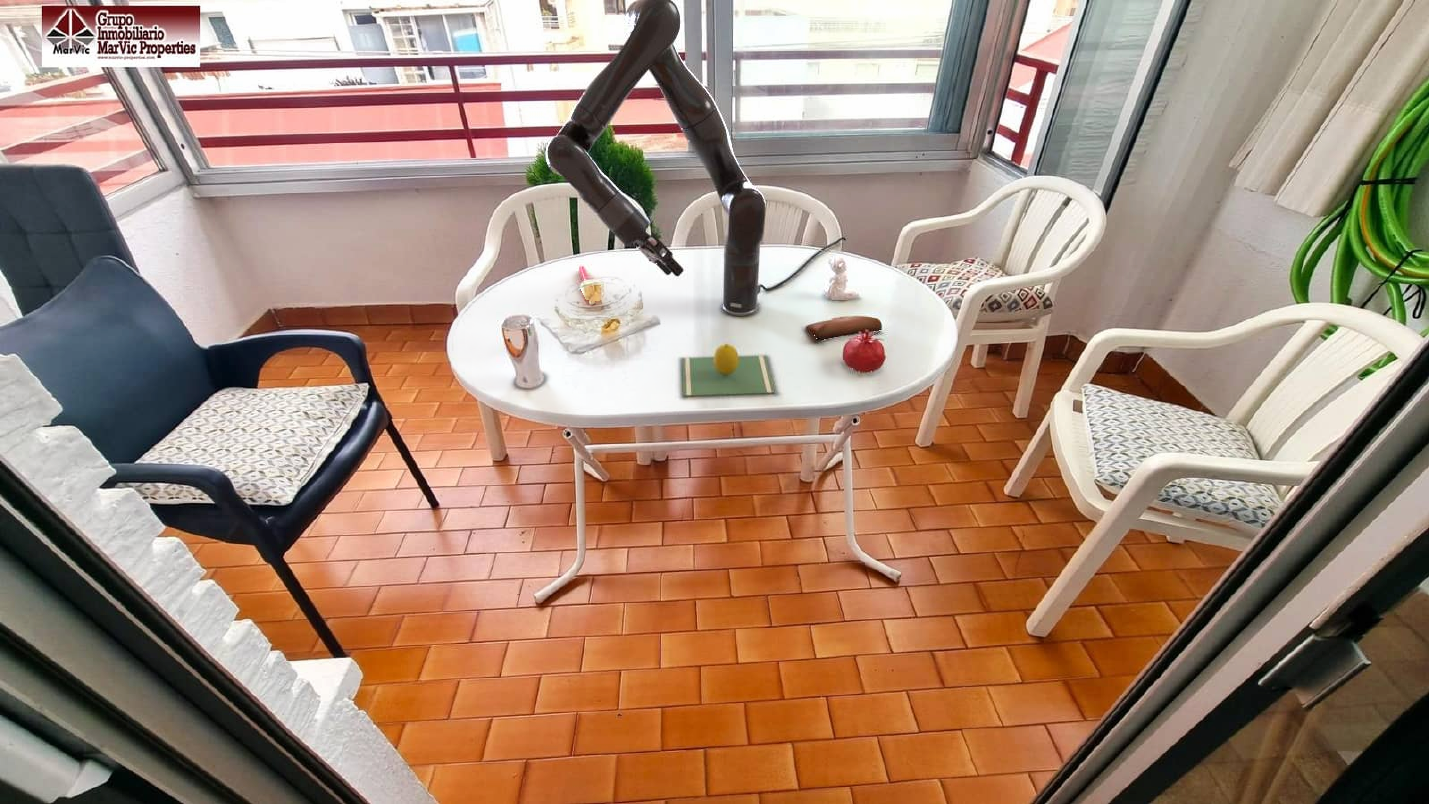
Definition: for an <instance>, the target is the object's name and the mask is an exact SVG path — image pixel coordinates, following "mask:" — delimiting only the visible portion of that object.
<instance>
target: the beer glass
mask: <svg viewBox="0 0 1429 804" xmlns="http://www.w3.org/2000/svg"><path fill="white" fill-rule="evenodd" d="M500 328H501V335H502V340H503V344H504V348H505V350H506V353H507V355H508V358H509V359H510V361H511V363H512V366H513V368H514V372H515V373H514V374H515V383H516V386H518V387H519V388H522V389H532V388H535V387H538V386H540V385H541V384H542V383H543V382H544V380H545V376H544V374H543V372H542V370H541V366H540V356H539V355H540V350H539V349H540V347H539V338H538V333H537V329H536V326H535V324H534V320H533V318H532V316H530V315H527V314H514V315H510V316H507V317H505V318H504V319H503V320H501V322H500Z"/></svg>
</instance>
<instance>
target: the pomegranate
mask: <svg viewBox="0 0 1429 804" xmlns="http://www.w3.org/2000/svg"><path fill="white" fill-rule="evenodd" d="M858 332H859V331H858ZM859 333H860V334H857V335H856V336H854V337H852V338H849V339H848V340H847V342H846V343H844V345H843V348H842V360H843V362H844V361H845V362H844V363H845V365H846V366H847V367H848V369H849V368H850V369H851V370H853V371H855V372H858V373H861V374H867V373H868V374H869V373H874V372H876V371H878V370H879V369H880V368H882V367H883V366H884V363H885V361H886V359H887V356H886V352H885V351H886V350H885V347H884V345H883V343H882V342H883V341H885V340H884V339H881V338H878V337H873V336H876V335H877V333H875V332H871V334H870V332H869V330H865V333H862V332H859ZM881 341H882V342H881ZM852 368H853V369H852ZM875 370H876V371H875ZM859 371H860V372H859ZM871 371H872V372H871Z"/></svg>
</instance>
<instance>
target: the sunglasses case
mask: <svg viewBox="0 0 1429 804" xmlns="http://www.w3.org/2000/svg"><path fill="white" fill-rule="evenodd" d="M882 329H883V324H882V321H881V320H880V319H879V318H877V317H872V316H866V315H852V316H851V315H848V316H839V317H833V318H831V319H828V320H822V321H818V322H814V323H810V324H808V325H806V326H805V330H806V332H807V334H808V335H809V337H810V339H812V341H813V342H814V343H817V342H822V341H827V340H830V339H829V338H832V339H834V338H835V337H837V338H840V337H847V335H848V336H854V335H861V334H860V333H859V332H862V333H863V334H865V330H869V333H875V332H874V331H876V332H879V333H880V332H882ZM879 330H881V331H879ZM858 331H859V332H858ZM814 335H815V336H814ZM816 338H817V339H816ZM824 339H826V340H824ZM835 339H836V338H835Z"/></svg>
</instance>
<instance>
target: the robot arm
mask: <svg viewBox="0 0 1429 804" xmlns="http://www.w3.org/2000/svg"><path fill="white" fill-rule="evenodd" d="M624 29H625V32H626V35H627V39H626V41H625V42H624V44H623V45H622V47H621V48H620V50H619V51H618V52H617V54H616V55H615V56H614V57H613V59H612V60H611V61H610V62H609V63H608V64H606V66H605V67H604V68H603V69H602V70H601V71H600V72H598V74H597V75H596V76H595V77H594V79H593V80H592V81H591V82H590V83H589V85H588V86H587V87H586V89H585V90H584V91H583V93H582V95H581V96H580V98H579V99H578V101H576V103H575V105H574V107H573V108H572V110H571V112H570V114H569V116H568V119H567V120H566V122H565V123H564V125H562V127H561V129H560V130H559V131H558V133H557V134H556V135H555V136H554V137H552V138H551V139H550V140H549V142H548V144H547V145H546V150H545V161H546V164H547V166H548V168H549V169H550V170H551V172H553V173H554V174H556V175H558V176H561V177H562V178H563V179H564V180H565V181H566V182H567V183H568V184H570V186H571V187H573V189H574V190H575V191H576V192H577V193H578V194H577V195H578V196H579V197H580V199H581V200H582V201H583V202H584V203H585V204H586V205H587V207H589V209H591V210H592V212H593V213H594V214H596V216H597V217H598V218H599V220H600V221H601V222H602V223H603V224H604V225H605V227H606V228H607V229H608V230H609V231H610V232H611V233H612V234H613V235H614V236H615V237H616V238H617V239H618V240H619V241H620V242H621V243H622V244H623V245H624V246H626V247H629V246H631V245H632V244H633V246H635V247H636V248H637V249H638V250H639V251H640V252H641V253H642V254H643V255H644V256H645V258H647V259H648V261H649V262H651V263H652V264H654V265H656V266H657V267H658V268H659V269H660V270H661V271H662V272H663V273H664V274H665V275H666V276H670V275H671V274H673V275H674V276H675V277H679V276H681V274H683V272H684V271H685V270H684V268H683V267H682V266H681V265H680V263H679V262H678V261H676V259H675V258H674V256H673V252H672V251H671V250H670V249H669V248H668V247H667V246H666V245H665V244H664V242H662V241H661V240H660V239H659V238H658V237H657V235H656V234H654V233H651V234H650V233H649V232H648V231H647V229H648V228H649V227H650V226H651V220H650V219H649V218H648V217H647V216H646V215H645V214H644V212H642V210H641V209H640V208H639V207H638V206H637V205H636V204H635V203H634V202H633V201H632V200H631V199H630V198H629V197H628V196H627V195H626V193H625V194H624V193H623V191H621V190H620V189H619V188H618V187H617V185H616V184H614V183H613V181H612V180H611V179H610V178H609V177H608V176H607V175H606V174H605V173H604V172H603V171H602V170H601V169H600V168H599V167H598V165H597V163H596V162H595V161H594V160H593V159H592V157H591V156H590V155H589V152H590V150H591V148H592V147H593V146H594V144H595V142H596V141H597V140H598V138H600V137H601V135H603V133H604V132H605V130H606V129H607V127H608V126H609V125H610V123H611V122H612V121H613V118H614V117H615V115H617V112H618V111H619V110H620V108H621V106H622V105H623V103H624V102H625V101H626V99H627V98H628V97H629V95H630V94H631V93H632V92H633V90H634V89H635V87H636V86H637V84H638V83H639V82H640V81H641V80H642V79H643V77H644V76H645V74H647V72H648V71H649V72H650V74H651V75H652V77H653V79H654V80H655V82H656V84H657V86H658V87H659V89H660V91H661V93H662V96H663V98H664V100H665V102H666V103H667V105H668V107H669V109H670V110H671V112H672V114H673V116H674V118H675V121H676V122H677V125H678V126H679V128H680V131H681V132H682V134H683V135H684V138H685V139H686V142H687V143H688V144H689V145H690V146H689V147H691V149H692V151H693V152H694V154H695V156H696V157H697V159H698V161H699V162H700V163H701V165H702V166H703V167H704V169H705V170H706V171H707V174H708V175H709V178H710V179H711V181H712V183H713V187H714V189H715V190H716V193H717V195H718V198H719V201H720V203H721V206H722V209H723V210H724V212H725V214H726V215H727V216H728V223H727V224H728V225H727V227H728V229H727V234H726V235H725V236H724V239H723V293H722V294H723V295H722V296H723V297H722V298H723V299H722V301H723V302H722V310H723V311H724V312H725V313H726V314H727V315H731V316H735V317H746V316H747V317H748V316H751V315H753V314H754V313H756V312H757V311H758V295H759V294H760V293H761V289H762V290H764V291H766V292H767V291H772V290H774V289H777V288H779V287H780V286H782V285H784V284H785V283H787V282H788V281H790V280H791V279H793V278H794V277H795V276H796V275H797V274H798V273H799V272H801V271H802V269H803V268H805V267H806V266H807V265H808V264H809V263H810V262H811V261H812V260H813V259H814V258H815V257H817V256H818V255H819V254H821V253H822V252H823V251H825V250H827V249H828V248H830V247H833V246H834V245H837V243H839V242H841V241H847V239H846V238H845V236H843V237H842V236H841V237H840V238H838V239H837V240H836V241H834V242H832V243H829V244H828V245H826V246H823V248H821V249H820V250H823V251H819V250H818V251H817V252H815V253H814V254H813V255H812V256H811V257H809V258H808V259H807V260H806V261H805V262H804V263H803V264H802V265H801V266H800V267H799V268H798V269H797V270H795V271H794V272H793V273H792V274H791V275H789V276H788V277H786V279H784V280H782V281H780V282H779V283H777V284H775V285H774V286H770V287H766V286H765V285H764V284H762V283H759V273H760V257H761V255H760V253H761V243H762V241H763V239H764V231H765V221H766V200H765V197H764V195H763V193H761V191H760V190H759V189H757V188H756V187H755V186H754V185H753V184H752V183H751V181H750V180H749V178H748V177H747V175H746V174H745V173H744V171H743V169H742V168H741V166H740V164H739V162H738V161H737V158H736V156H735V154H734V151H733V146H732V141H731V139H730V138H731V137H730V133H729V130H728V129H727V125H726V123H725V121H724V118H723V116H722V114H721V112H720V110H719V108H718V106H717V104H716V102H715V100H714V98H713V96H712V95H711V94H710V93H709V92H708V90H707V89H706V87H704V85H703V84H702V82H700V80H699V79H698V78H696V76H695V75H694V74H693V73H692V72H691V71H690V69H689V68H688V67H687V66H686V64H685V63H684V61H683V60H682V58H681V56H680V54H679V52H678V50H677V48H676V46H675V42H676V41H677V40H678V38H679V36H680V33H681V30H682V15H681V12H680V10H679V7H678V6H677V4H676V3H675V1H673V0H635V1H633V2H632V3H631V4H630V5H629V6H628V7H627V9H626V12H625V14H624Z"/></svg>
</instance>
